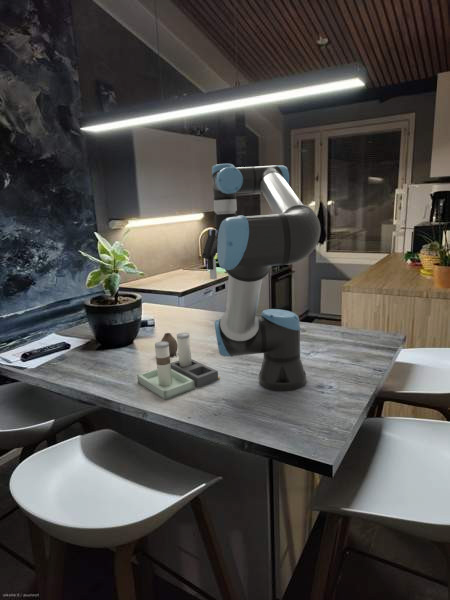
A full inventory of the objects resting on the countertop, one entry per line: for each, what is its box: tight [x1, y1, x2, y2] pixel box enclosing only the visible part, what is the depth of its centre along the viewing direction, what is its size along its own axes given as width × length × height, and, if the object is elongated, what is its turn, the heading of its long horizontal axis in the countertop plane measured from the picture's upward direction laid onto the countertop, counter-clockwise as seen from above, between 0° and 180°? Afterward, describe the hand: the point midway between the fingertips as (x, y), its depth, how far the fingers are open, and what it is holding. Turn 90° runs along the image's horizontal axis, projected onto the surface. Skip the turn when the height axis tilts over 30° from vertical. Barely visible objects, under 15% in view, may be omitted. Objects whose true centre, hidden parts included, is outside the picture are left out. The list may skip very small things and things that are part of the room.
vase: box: [160, 332, 178, 357], centre depth 161 cm, size 7×7×9 cm
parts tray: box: [137, 368, 196, 400], centre depth 134 cm, size 18×11×3 cm, turn 38°
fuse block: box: [170, 358, 221, 387], centre depth 140 cm, size 18×9×3 cm, turn 38°
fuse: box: [176, 332, 193, 368], centre depth 142 cm, size 4×4×14 cm
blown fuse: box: [154, 341, 172, 386], centre depth 132 cm, size 4×4×14 cm
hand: (229, 276), depth 140 cm, fingers open, 13 cm apart
